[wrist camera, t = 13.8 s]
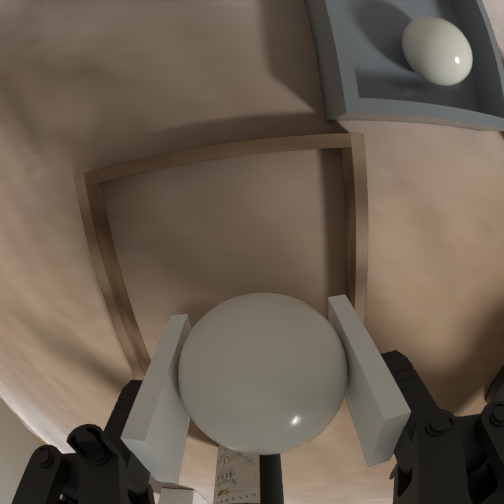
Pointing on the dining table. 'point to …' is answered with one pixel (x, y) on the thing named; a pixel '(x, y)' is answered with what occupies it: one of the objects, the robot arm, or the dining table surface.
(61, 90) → the dining table surface
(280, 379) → the pebble
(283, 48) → the dining table surface
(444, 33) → the off-white glossy ball
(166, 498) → the milk carton
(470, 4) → the grey shallow box
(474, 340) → the dining table surface
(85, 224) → the tray
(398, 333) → the dining table surface
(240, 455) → the wine bottle
